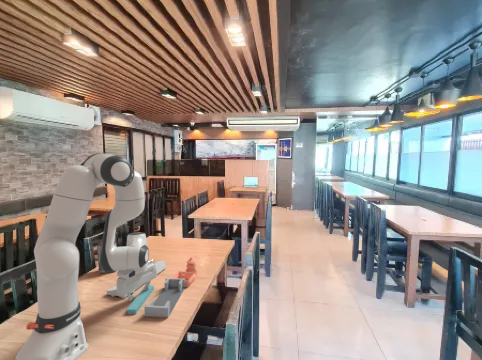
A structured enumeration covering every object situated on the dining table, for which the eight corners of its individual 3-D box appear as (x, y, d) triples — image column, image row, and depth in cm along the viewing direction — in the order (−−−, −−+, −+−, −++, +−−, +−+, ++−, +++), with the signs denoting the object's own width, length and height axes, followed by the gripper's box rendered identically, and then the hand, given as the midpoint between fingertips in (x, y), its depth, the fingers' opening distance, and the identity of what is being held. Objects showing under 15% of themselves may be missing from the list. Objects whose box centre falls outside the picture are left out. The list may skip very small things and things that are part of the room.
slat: (136, 320, 105) (135, 309, 105) (127, 320, 105) (126, 309, 105) (154, 294, 125) (153, 285, 125) (146, 294, 125) (145, 285, 125)
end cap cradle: (168, 319, 102) (168, 307, 102) (144, 318, 103) (144, 306, 103) (185, 288, 127) (185, 278, 127) (166, 287, 128) (166, 277, 127)
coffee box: (118, 267, 151) (117, 241, 150) (115, 271, 145) (114, 244, 144) (101, 268, 149) (100, 242, 147) (98, 273, 142) (97, 246, 141)
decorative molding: (109, 300, 119) (125, 298, 116) (106, 291, 119) (122, 288, 116) (152, 270, 152) (166, 268, 149) (150, 262, 152) (164, 260, 149)
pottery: (188, 288, 127) (188, 270, 126) (171, 286, 129) (171, 268, 128) (201, 273, 145) (201, 256, 144) (186, 271, 147) (186, 255, 146)
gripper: (150, 256, 126) (151, 282, 127) (113, 274, 107) (115, 304, 109) (159, 259, 123) (160, 285, 124) (123, 277, 105) (124, 308, 106)
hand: (138, 294), depth 116 cm, fingers open, 7 cm apart
